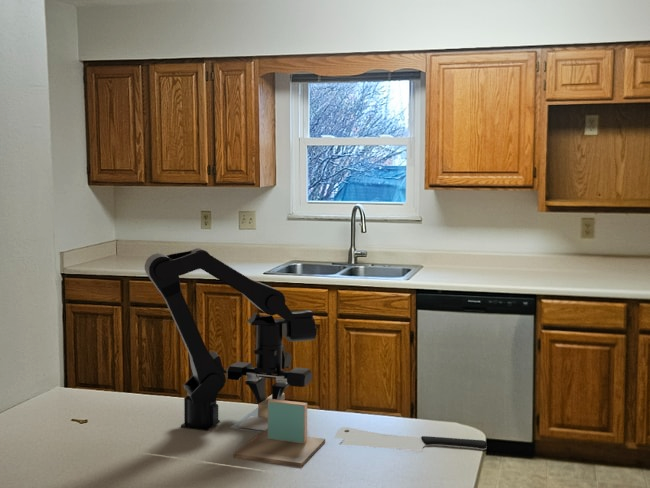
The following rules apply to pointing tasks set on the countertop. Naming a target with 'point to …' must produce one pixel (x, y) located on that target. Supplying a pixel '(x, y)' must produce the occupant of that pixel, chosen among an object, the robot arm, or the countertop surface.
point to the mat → (253, 413)
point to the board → (279, 450)
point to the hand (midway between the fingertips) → (269, 411)
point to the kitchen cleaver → (402, 440)
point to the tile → (287, 421)
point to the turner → (259, 416)
